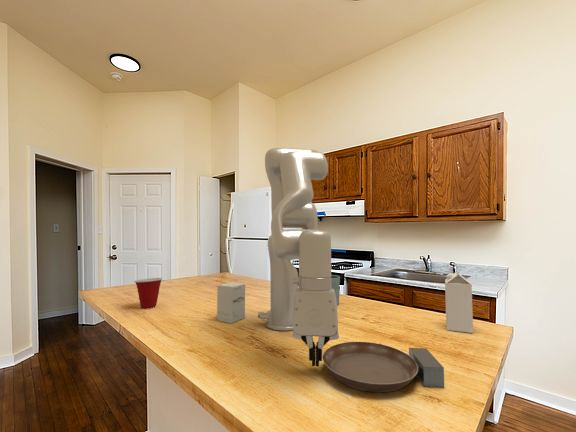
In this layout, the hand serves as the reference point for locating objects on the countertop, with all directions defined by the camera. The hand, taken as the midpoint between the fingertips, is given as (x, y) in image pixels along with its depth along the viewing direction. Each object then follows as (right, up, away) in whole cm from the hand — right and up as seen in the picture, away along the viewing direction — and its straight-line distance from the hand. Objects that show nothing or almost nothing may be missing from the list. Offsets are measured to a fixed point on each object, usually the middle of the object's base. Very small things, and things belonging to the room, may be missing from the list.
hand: (315, 363), depth 69 cm
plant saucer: (+12, -2, -1) cm, 12 cm away
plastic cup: (-65, -5, +57) cm, 87 cm away
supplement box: (-27, -4, +40) cm, 48 cm away
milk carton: (+49, -3, +28) cm, 57 cm away
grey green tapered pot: (+11, -5, +61) cm, 62 cm away
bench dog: (+24, -1, -2) cm, 24 cm away
